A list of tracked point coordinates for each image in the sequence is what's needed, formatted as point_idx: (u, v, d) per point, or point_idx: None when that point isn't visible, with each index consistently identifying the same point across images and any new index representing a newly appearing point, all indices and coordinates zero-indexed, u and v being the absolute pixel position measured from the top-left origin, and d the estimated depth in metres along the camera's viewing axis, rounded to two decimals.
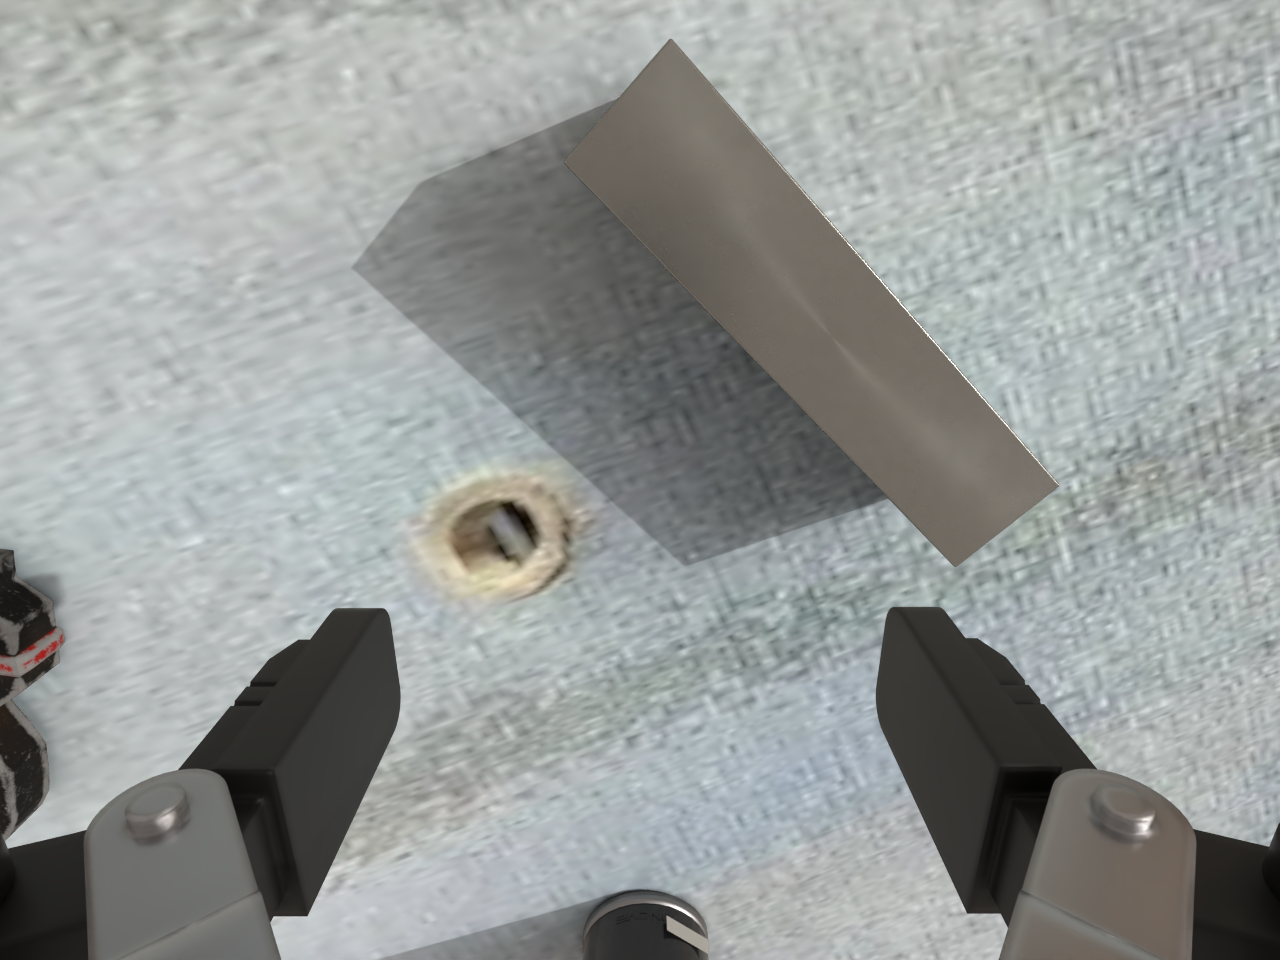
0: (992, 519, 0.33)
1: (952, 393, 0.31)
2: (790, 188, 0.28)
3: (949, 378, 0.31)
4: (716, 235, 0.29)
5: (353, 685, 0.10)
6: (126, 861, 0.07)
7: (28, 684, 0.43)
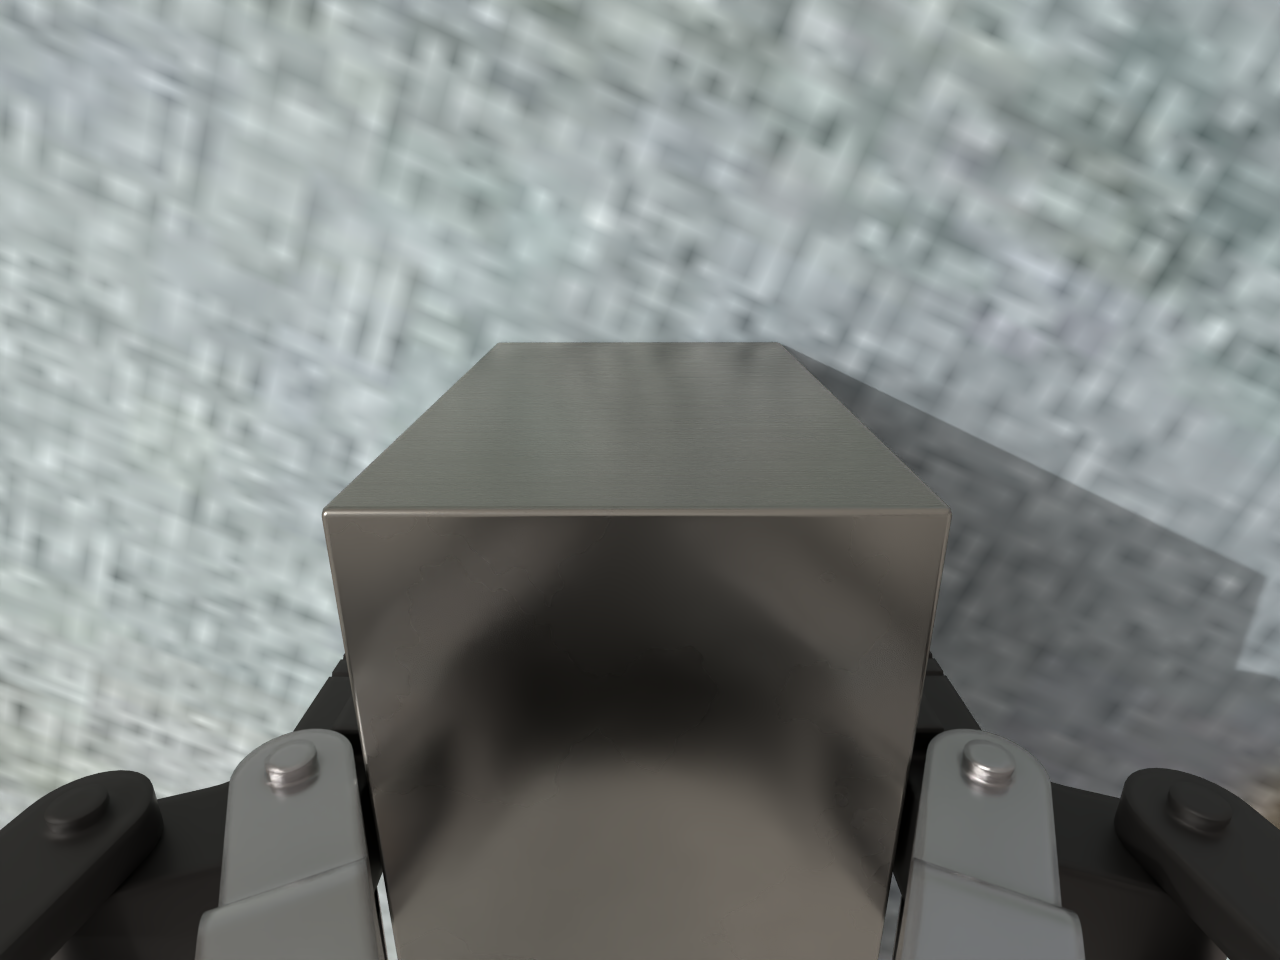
0: (660, 589, 0.07)
1: None
2: None
3: None
4: None
5: None
6: (273, 807, 0.07)
7: None
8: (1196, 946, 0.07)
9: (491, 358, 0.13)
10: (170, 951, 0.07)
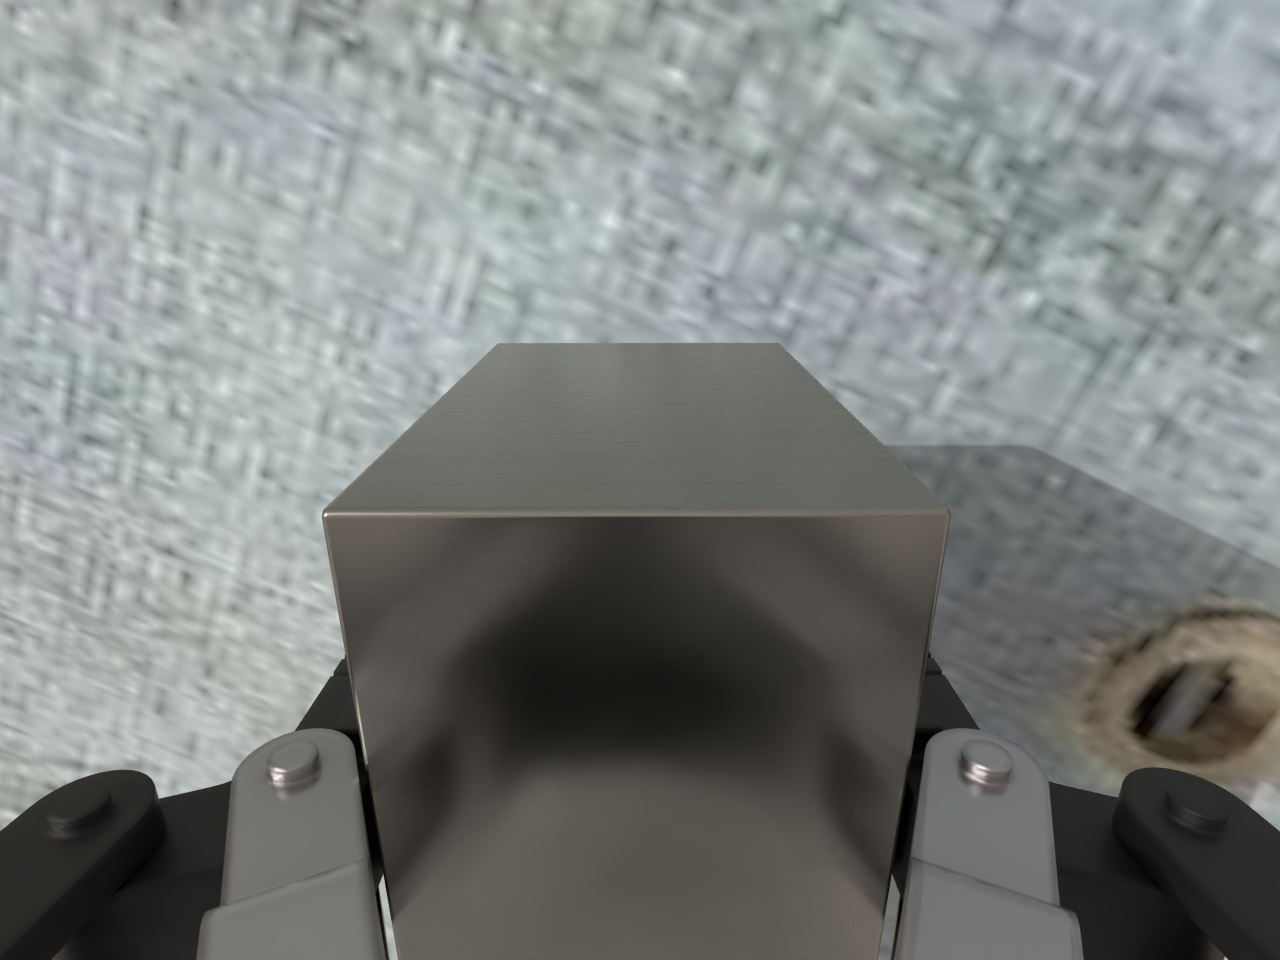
0: (659, 590, 0.07)
1: None
2: None
3: None
4: None
5: None
6: (275, 807, 0.07)
7: None
8: (1194, 945, 0.07)
9: (491, 359, 0.13)
10: (172, 950, 0.07)
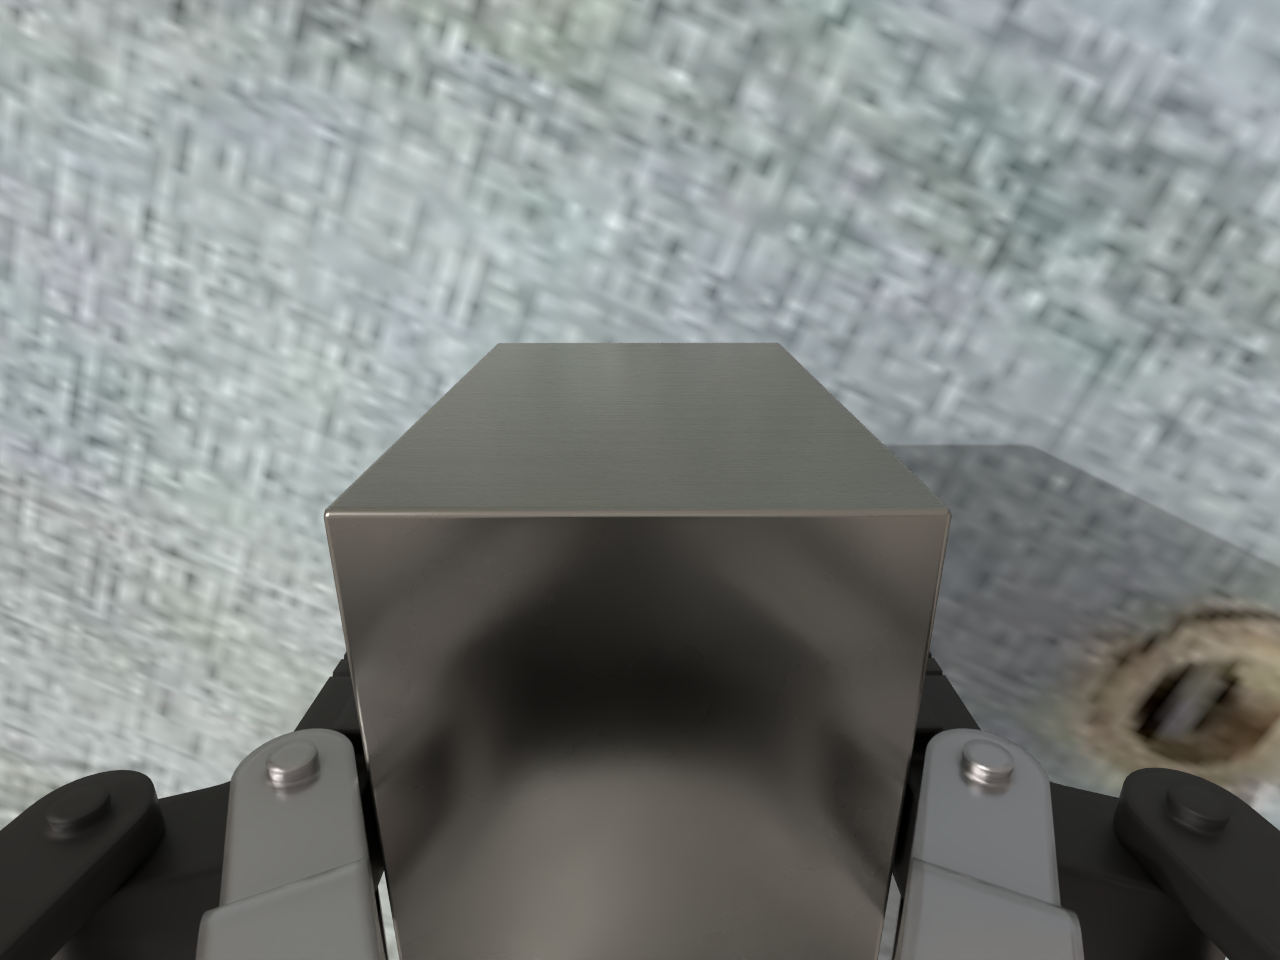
0: (661, 589, 0.07)
1: None
2: None
3: None
4: None
5: None
6: (274, 807, 0.07)
7: None
8: (1195, 946, 0.07)
9: (491, 359, 0.13)
10: (171, 950, 0.07)
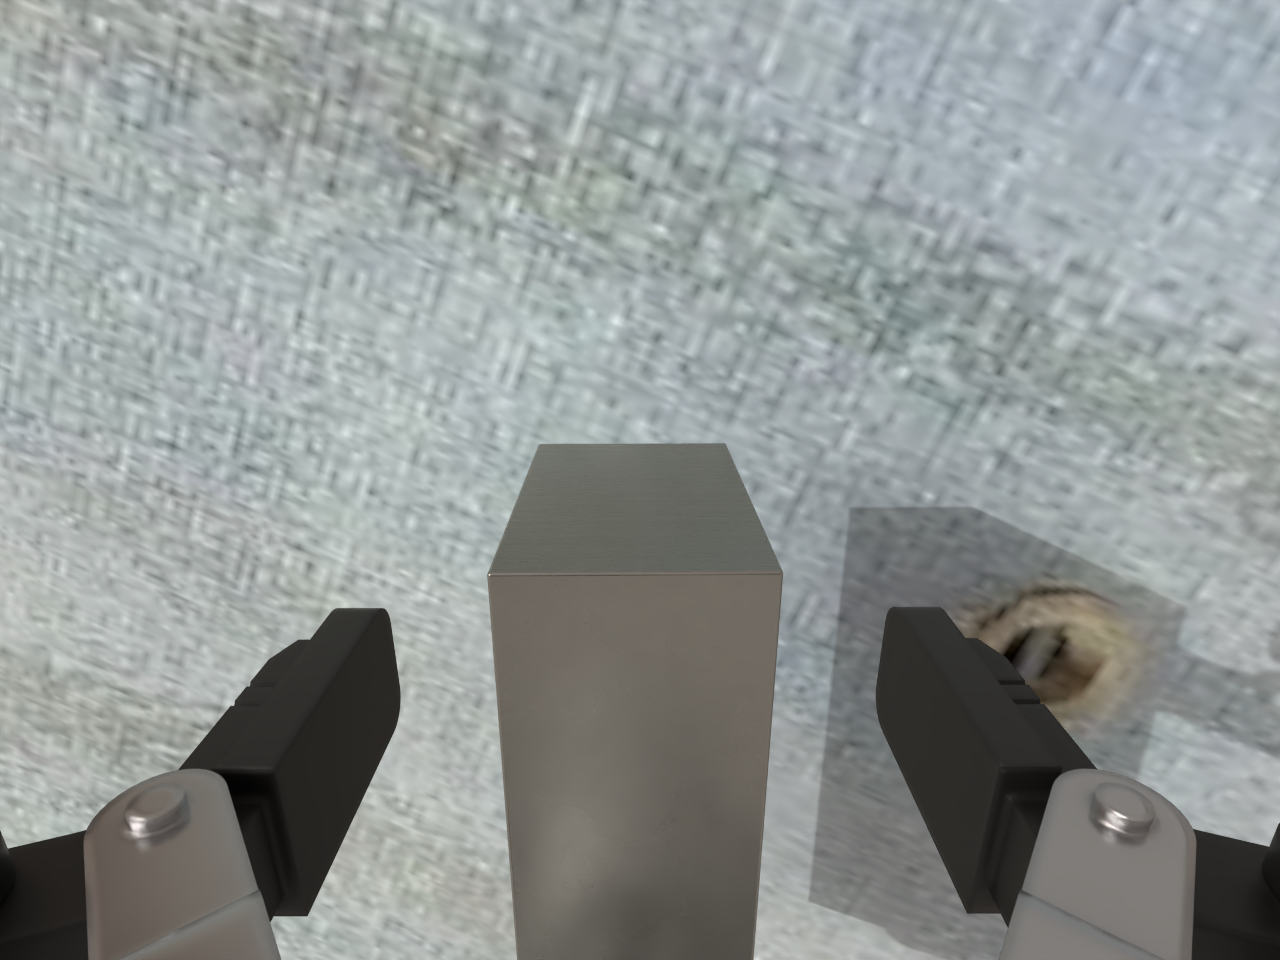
0: (646, 609, 0.14)
1: (544, 844, 0.16)
2: None
3: (532, 866, 0.17)
4: None
5: (353, 685, 0.10)
6: (126, 861, 0.07)
7: None
8: None
9: (539, 460, 0.21)
10: None
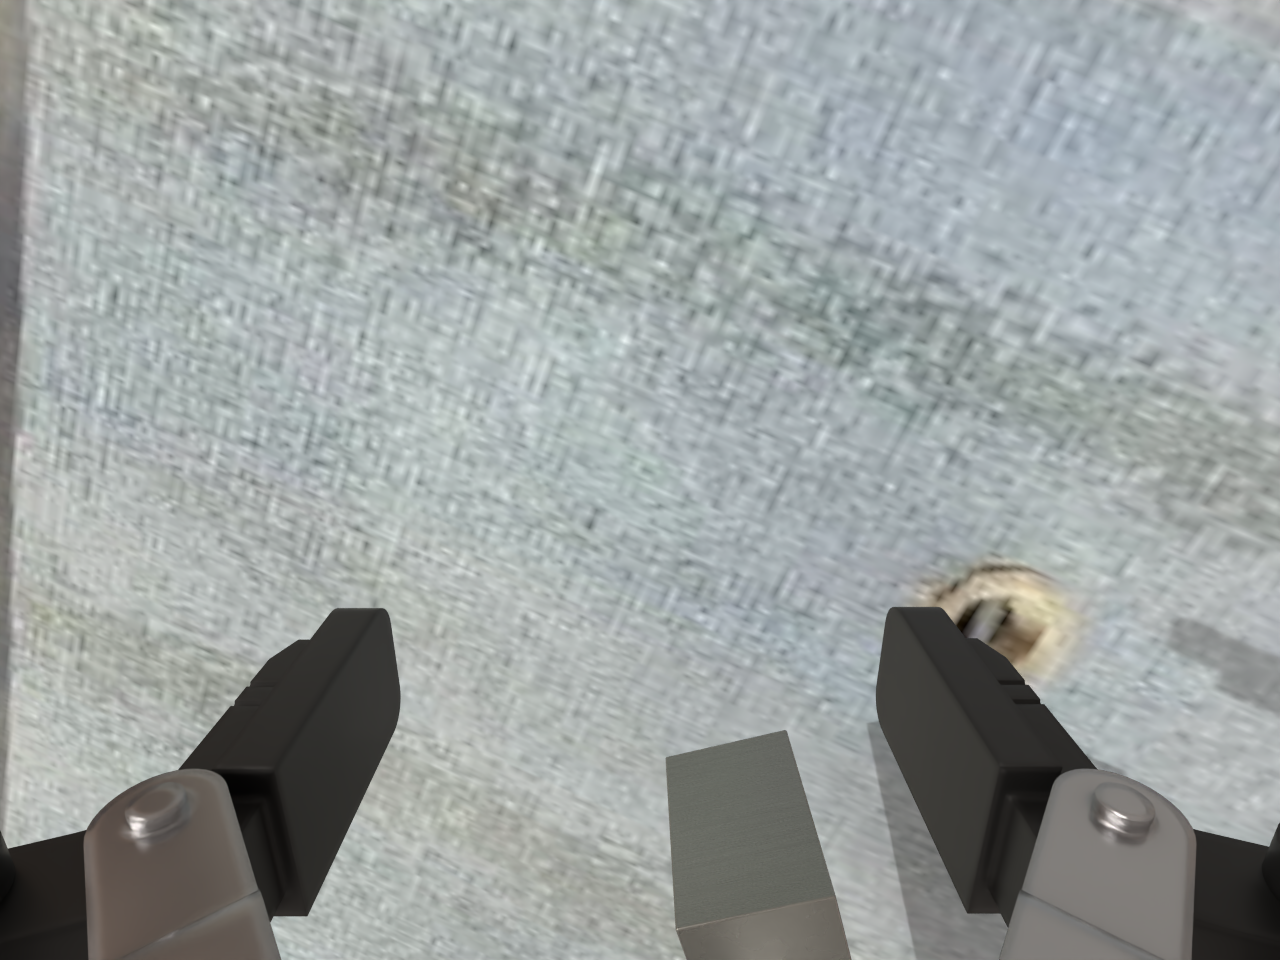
0: (765, 928, 0.26)
1: None
2: None
3: None
4: None
5: (353, 685, 0.10)
6: (126, 861, 0.07)
7: None
8: None
9: (671, 783, 0.32)
10: None
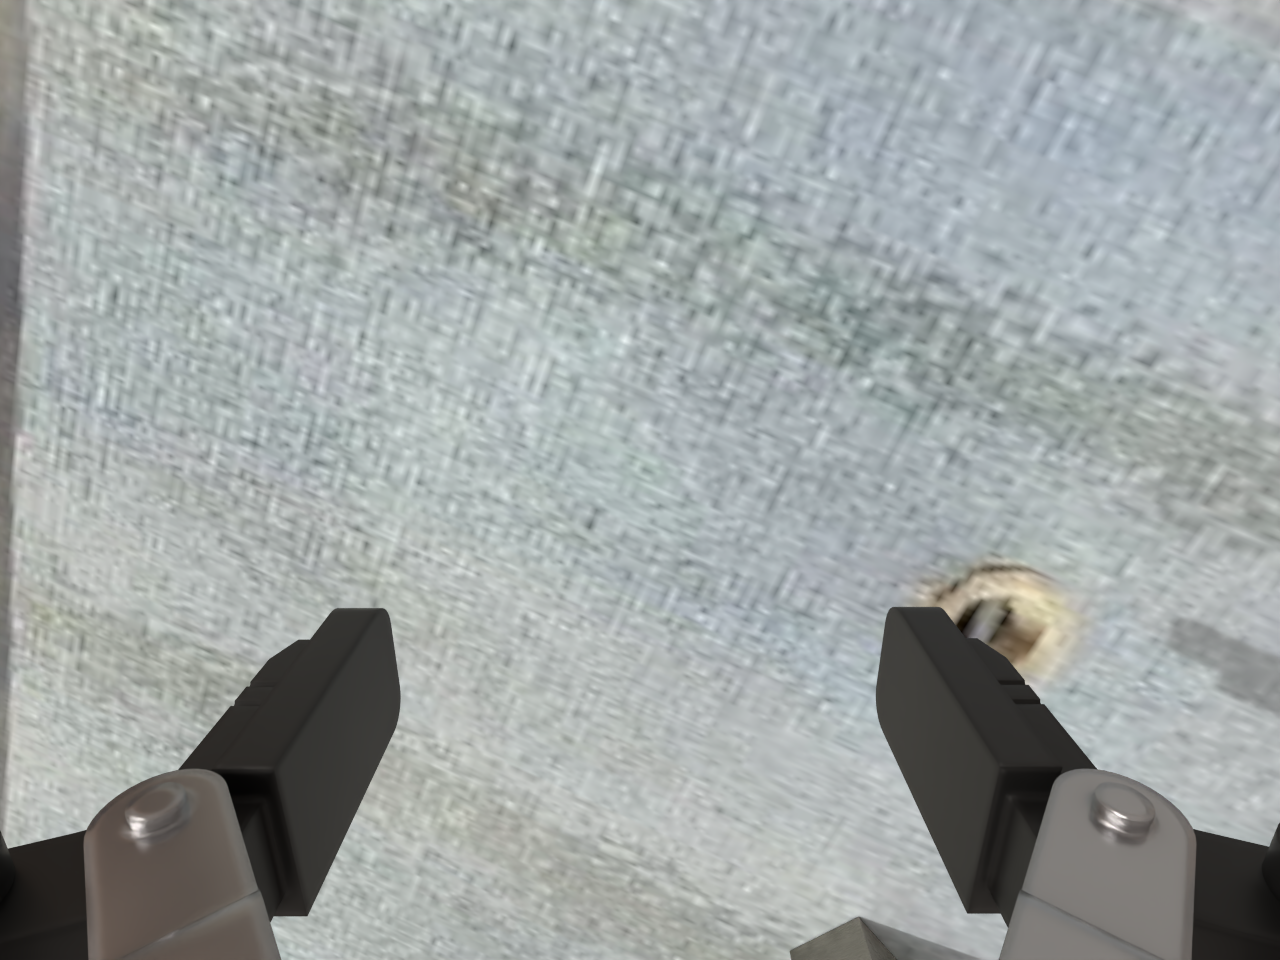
0: None
1: None
2: None
3: None
4: None
5: (353, 685, 0.10)
6: (126, 861, 0.07)
7: None
8: None
9: None
10: None
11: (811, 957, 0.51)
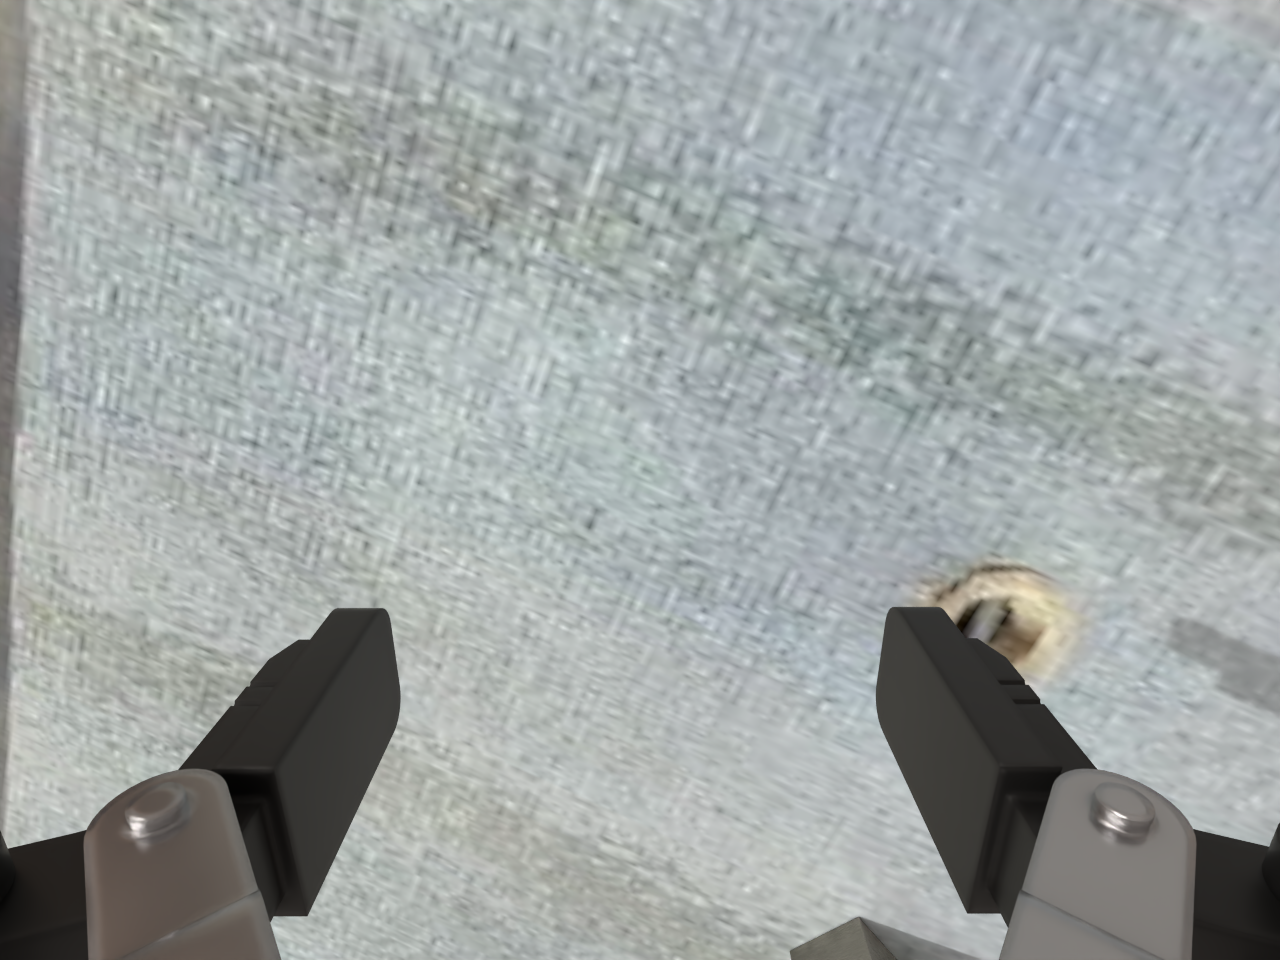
0: None
1: None
2: None
3: None
4: None
5: (353, 685, 0.10)
6: (126, 861, 0.07)
7: None
8: None
9: None
10: None
11: (811, 957, 0.51)
